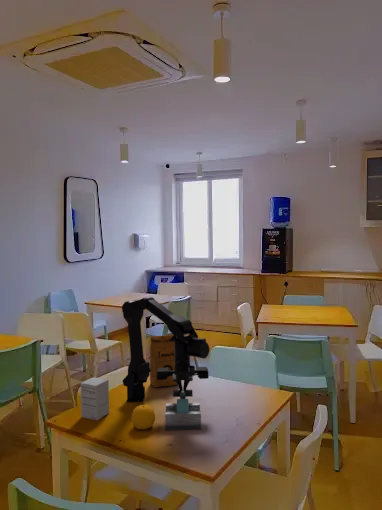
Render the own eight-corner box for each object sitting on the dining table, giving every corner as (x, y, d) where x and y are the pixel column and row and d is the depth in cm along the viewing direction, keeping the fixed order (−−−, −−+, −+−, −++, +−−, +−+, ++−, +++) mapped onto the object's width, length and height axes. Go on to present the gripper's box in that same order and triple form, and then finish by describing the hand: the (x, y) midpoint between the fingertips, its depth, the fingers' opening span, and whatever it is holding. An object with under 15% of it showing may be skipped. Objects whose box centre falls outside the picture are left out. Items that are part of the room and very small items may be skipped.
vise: (165, 430, 143) (165, 415, 143) (167, 409, 161) (166, 396, 161) (201, 429, 143) (201, 414, 143) (198, 408, 161) (198, 395, 161)
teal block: (177, 415, 151) (176, 399, 151) (188, 415, 151) (188, 398, 151) (177, 421, 146) (176, 404, 146) (188, 421, 146) (188, 404, 146)
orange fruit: (151, 421, 150) (151, 399, 150) (158, 430, 143) (157, 407, 143) (129, 424, 148) (129, 403, 148) (134, 434, 140) (134, 411, 140)
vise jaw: (166, 415, 151) (165, 395, 150) (166, 408, 157) (166, 389, 156) (200, 414, 151) (199, 394, 151) (199, 408, 157) (199, 388, 157)
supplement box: (93, 410, 161) (93, 376, 161) (109, 413, 158) (109, 379, 157) (80, 417, 154) (79, 382, 154) (97, 420, 151) (96, 385, 151)
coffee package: (181, 386, 186) (180, 336, 185) (152, 389, 182) (151, 338, 182) (175, 379, 195) (175, 331, 194) (148, 382, 192) (147, 333, 191)
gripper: (155, 361, 148) (156, 405, 149) (209, 359, 149) (209, 404, 149) (157, 352, 159) (157, 393, 160) (207, 351, 160) (207, 392, 161)
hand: (183, 396), depth 157 cm, fingers closed, pressing on vise jaw
